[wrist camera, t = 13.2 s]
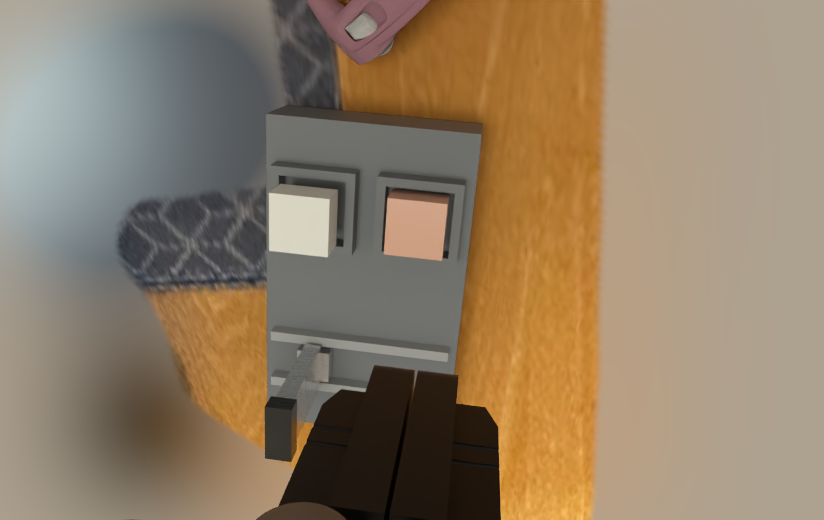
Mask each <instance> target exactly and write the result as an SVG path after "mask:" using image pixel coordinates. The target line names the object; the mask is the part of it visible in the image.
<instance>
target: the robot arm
mask: <svg viewBox="0 0 824 520" xmlns="http://www.w3.org/2000/svg"><path fill="white" fill-rule="evenodd" d="M414 379H415V370H411V369H403V368H395V367H387V366H379V365H374V367H373V370H372V373H371V376H370V379H369V382H368V385H367V388H366V391H365V392H360V391H353V390H345V389H341V390H339V391H338V392H337V393H336V394H334V395H333V396H332V397H331V398H329V399H328V400H327V401H326V402H324V403H323V404H322V406H321V408H320V411H319V413H318V415H317V418H316V420H315V422H314V427H313V428H312V429H311V432H310V434H309V436H308V439H307V443H306V444H305V446H304V448H303V450H302V453H301V455H300V457H299V460H298V462H297V464H296V467H295V469H294V471H293V474H292V476H291V478H290V481H289V483H288V485H287V488H286V490H285V492H284V495H283V497H282V499H281V501H280V504H279V506H278V507H276V508H273V509H271V510H269V511H268V512H265V513H264V514H263V515H261V516H260V517H259V518H257V519H256V520H501V513H500V479H499V452H498V449H499V445H498V426H497V425H496V423H495V422H494V420H493V419H492V417H491V415H490V414H489V412H488V411H487V409H486V408H485V407H478V406H470V405H463V404H456V398H457V385H458V375H452V374H444V373H436V372H429V371H421V370H418V373H417V377H416V383H415V388H414ZM413 391H414V393H413Z"/></svg>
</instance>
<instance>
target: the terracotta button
mask: <svg viewBox="0 0 824 520" xmlns="http://www.w3.org/2000/svg"><path fill="white" fill-rule="evenodd" d="M449 197H450V195H448V194H438V193H429V192H419V191H409V190H400V189H392V191H391V193H390V195H389V196H388V198H387V214H386V229H385V244H384V254H385V255H394V256H403V257H412V258H420V259H429V260H438V261H442V258H443V252H444V246H445V236H446V226H447V216H448V206H449Z"/></svg>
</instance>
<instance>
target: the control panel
mask: <svg viewBox="0 0 824 520" xmlns="http://www.w3.org/2000/svg"><path fill="white" fill-rule="evenodd" d="M481 140H482V124H481V123H471V122H460V121H449V120H439V119H428V118H418V117H407V116H397V115H386V114H376V113H365V112H355V111H344V110H334V109H323V108H313V107H302V106H292V105H286V106H284V107H281V108H279V109H276V110H274V111H271V112H269V113H267V114H266V211H267V397H268V400H269V399H270V397H271V396H275V397H276V395H277V393H278V392H279V390H280V388H281V386H282V384H283V383H284V381H285V379H286V377H287V376H288V374H289V372H290V370H291V369H292V367H293V365H294V363H295V361H296V360H297V350H298V348H299V346H300V345H301V344H309V345H318V346H322V347H330V348H333V355H332V375H331V377H330V379H329V382H322V381H320V389H319V392H318V394H317V396H316V398H315V400H314V403H313V405H312V407H311V409H310V411H309V414H308V416H307V418H306V420H305V422H308V423H314V422H315V420H316V418H317V415H318V413H319V411H320V408H321V406H322V404H323V403H324V402H326V401H327V400H328V399H329V398H331V397H332V396H333V395H334V394H336V393H337V392H338V391H339V390H341V389H345V390H353V391H360V392H365V391H366V388H367V385H368V382H369V379H370V376H371V373H372V370H373V367H374V365H379V366H387V367H395V368H403V369H411V370H415V379H414V388H415V383H416V377H417V373H418V370H421V371H429V372H436V373H444V374H452V375H454V371H455V362H456V354H457V345H458V337H459V328H460V319H461V311H462V302H463V294H464V285H465V277H466V268H467V260H468V251H469V242H470V234H471V225H472V217H473V208H474V200H475V191H476V182H477V174H478V165H479V157H480V148H481ZM280 184H289V185H298V186H308V187H317V188H327V189H336V190H338V208H337V235H336V246H335V248H334V249H333V250H332V252H331V253H330V255H329V256H328V257H320V256H311V255H302V254H293V253H284V252H275V251H269V192H271V191H272V190H273V189H274V188H276V187H277V186H278V185H280ZM392 189H400V190H409V191H419V192H429V193H438V194H448V195H450V197H449V206H448V216H447V226H446V236H445V246H444V252H443V258H442V261H438V260H429V259H420V258H412V257H403V256H394V255H385V254H384V244H385V229H386V214H387V198H388V196H389V195H390V193H391V191H392ZM413 393H414V391H413Z"/></svg>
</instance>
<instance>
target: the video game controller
mask: <svg viewBox="0 0 824 520" xmlns="http://www.w3.org/2000/svg"><path fill="white" fill-rule="evenodd" d="M429 1H430V0H351V1H350V2H349V3H348V4H347V5H346V6H344V5H342V4H341V3H340V2H339V1H338V0H307V3H308V5H309V6H310V8H311V9H312V11H313V12H314V14H315V16H316V17H317V19H318V20H319V22H320V23H321V25H322V27H323V28H324V29H325V31H326V32H327V34H328V35H329V36H330V37H331V38H332V39H333V40H334V42H335V43H336V44H337V45H338V46H339V48H340V49H341V50H342V51H343V52H345V53H346V54H347V55H348V56H349V57H350V58H351V59H353V60H354V61H355V62H356V63H357V64H359V65H362V64H365V63H367V62H369V61H371V60H373V59H375V58H376V57H377V56H383V55H385V54H386V53H388V52H389V51H390V50H391V48H392V46H393V43H394V39H393V38H394V37H395V35H396V33H397V32H398V31H399V30H400V29H401V28H402V27H404V26H405V25H406V24H407V23H408V22H409V21H410V20H411V19H412V18H413V17H414V16H415V15H416V14H417V13H418V12H419V11H420V10H421V9H422V8H423V7H424V6H425V5H426V4H427V3H428V2H429Z"/></svg>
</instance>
